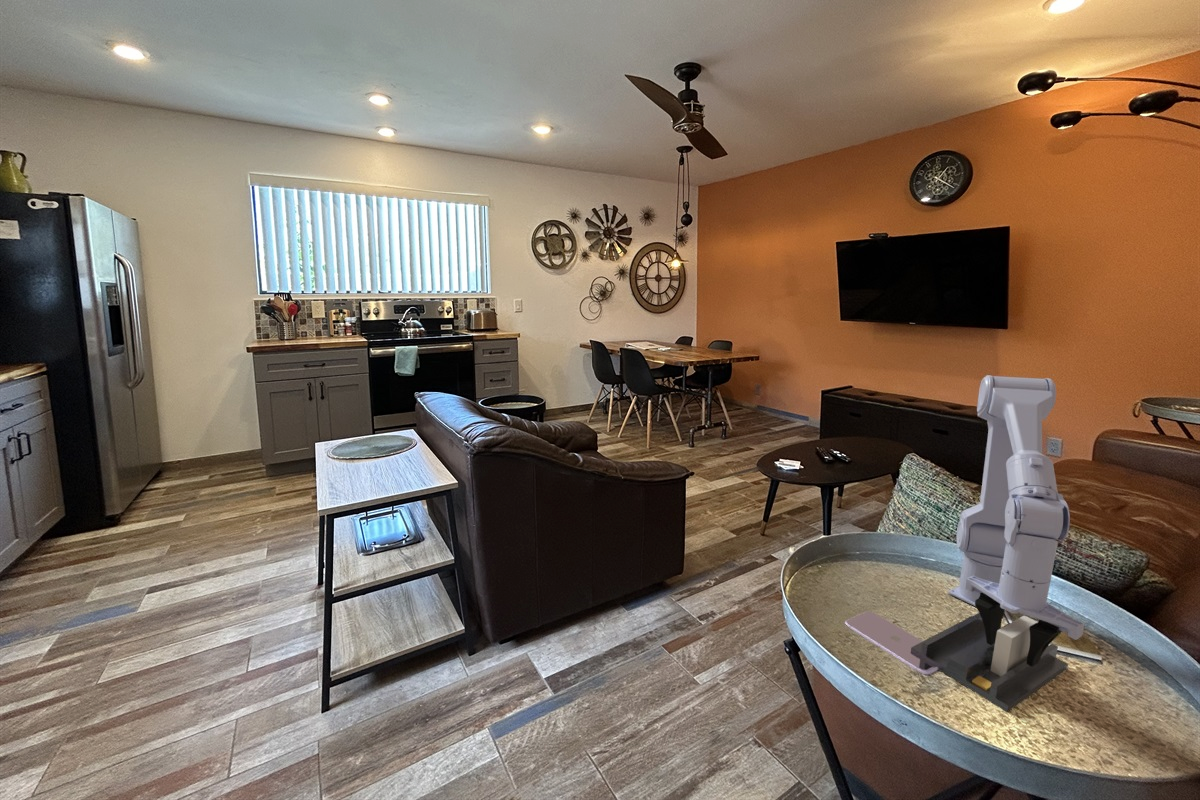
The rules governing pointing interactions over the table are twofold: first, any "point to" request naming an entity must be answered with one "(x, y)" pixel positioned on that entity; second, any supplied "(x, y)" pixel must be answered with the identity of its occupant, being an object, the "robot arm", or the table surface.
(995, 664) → the panel
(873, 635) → the mobile phone
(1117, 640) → the table surface
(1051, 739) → the table surface
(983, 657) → the charcoal rack
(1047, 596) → the robot arm
